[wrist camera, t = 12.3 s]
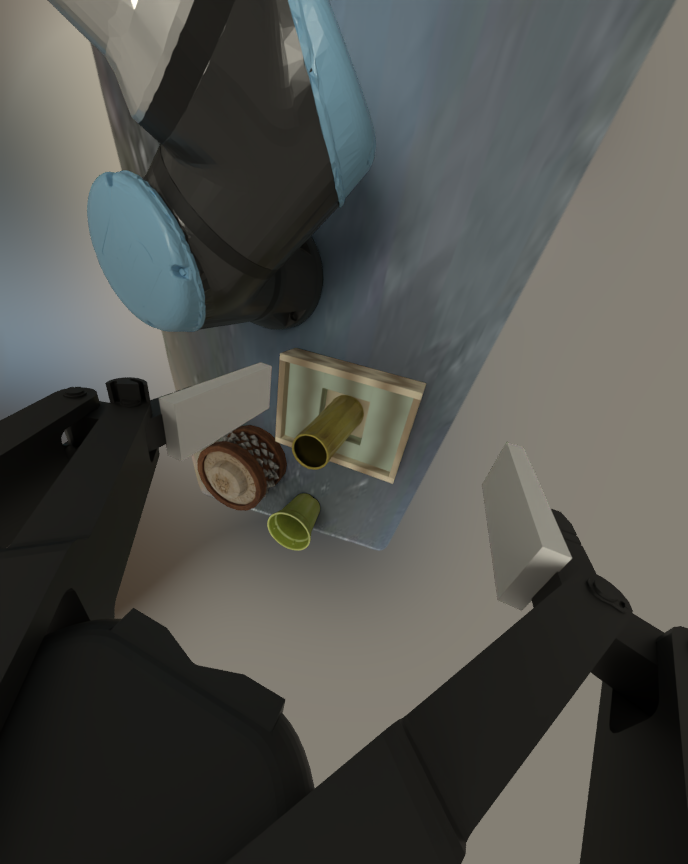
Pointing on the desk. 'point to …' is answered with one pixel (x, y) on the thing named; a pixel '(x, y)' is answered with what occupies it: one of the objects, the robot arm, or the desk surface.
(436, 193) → the desk surface
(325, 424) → the vase
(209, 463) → the spiked roller
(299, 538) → the plant pot
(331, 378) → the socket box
